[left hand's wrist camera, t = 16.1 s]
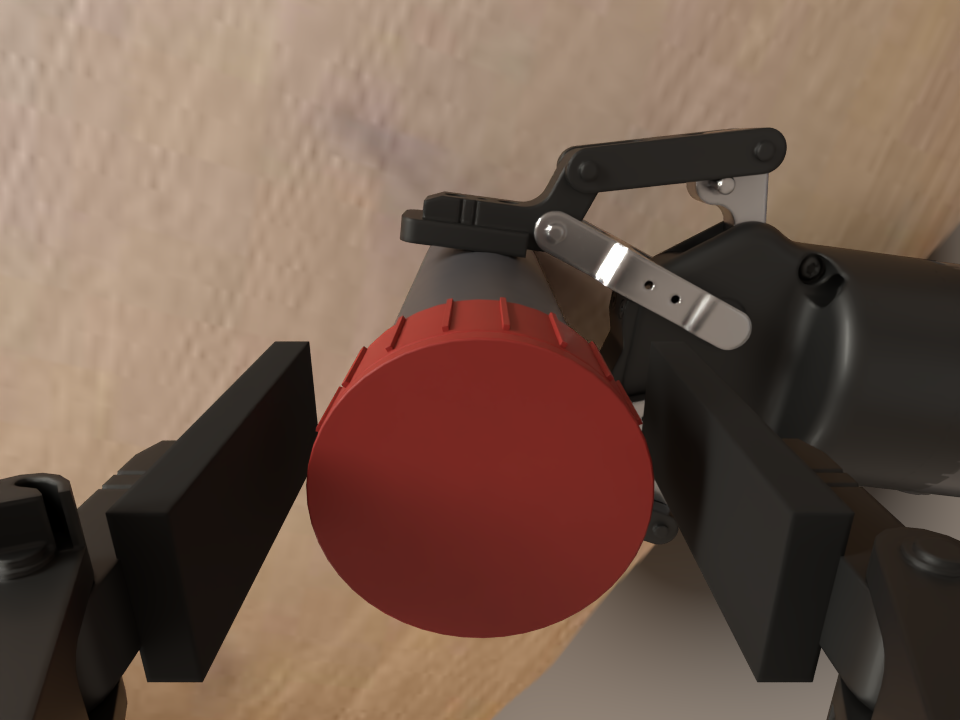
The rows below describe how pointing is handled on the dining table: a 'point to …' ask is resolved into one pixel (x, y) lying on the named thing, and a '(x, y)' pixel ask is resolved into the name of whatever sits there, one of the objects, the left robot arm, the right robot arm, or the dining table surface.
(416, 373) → the lid
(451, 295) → the jar
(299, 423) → the left robot arm
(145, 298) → the dining table surface
